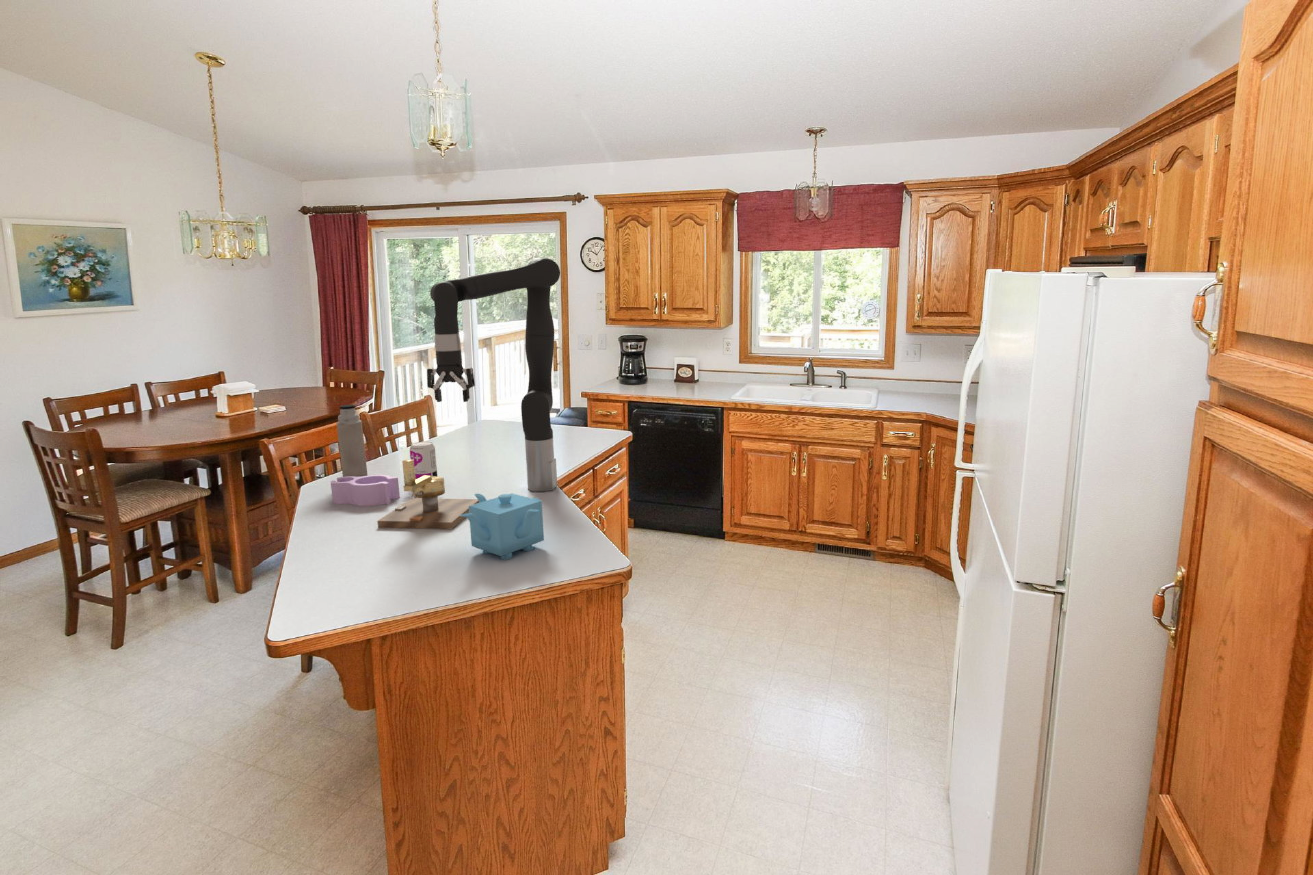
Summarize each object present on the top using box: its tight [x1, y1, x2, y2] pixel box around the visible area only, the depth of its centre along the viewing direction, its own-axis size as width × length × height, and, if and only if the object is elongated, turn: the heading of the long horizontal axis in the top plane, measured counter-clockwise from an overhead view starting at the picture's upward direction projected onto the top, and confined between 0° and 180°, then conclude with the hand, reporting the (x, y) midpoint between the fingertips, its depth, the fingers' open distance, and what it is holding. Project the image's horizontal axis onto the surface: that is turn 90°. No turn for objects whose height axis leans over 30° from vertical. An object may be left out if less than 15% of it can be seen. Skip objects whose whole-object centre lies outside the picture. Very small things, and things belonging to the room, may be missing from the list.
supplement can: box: [409, 441, 439, 479], centre depth 243 cm, size 8×8×15 cm
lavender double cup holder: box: [329, 474, 401, 507], centre depth 230 cm, size 20×12×7 cm, turn 84°
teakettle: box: [460, 493, 545, 560], centre depth 182 cm, size 19×19×15 cm
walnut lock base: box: [377, 496, 479, 530], centre depth 212 cm, size 22×22×7 cm
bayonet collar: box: [401, 458, 446, 498], centre depth 207 cm, size 17×9×12 cm, turn 170°
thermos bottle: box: [336, 404, 369, 477], centre depth 246 cm, size 8×8×28 cm
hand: (452, 401), depth 220 cm, fingers open, 8 cm apart
